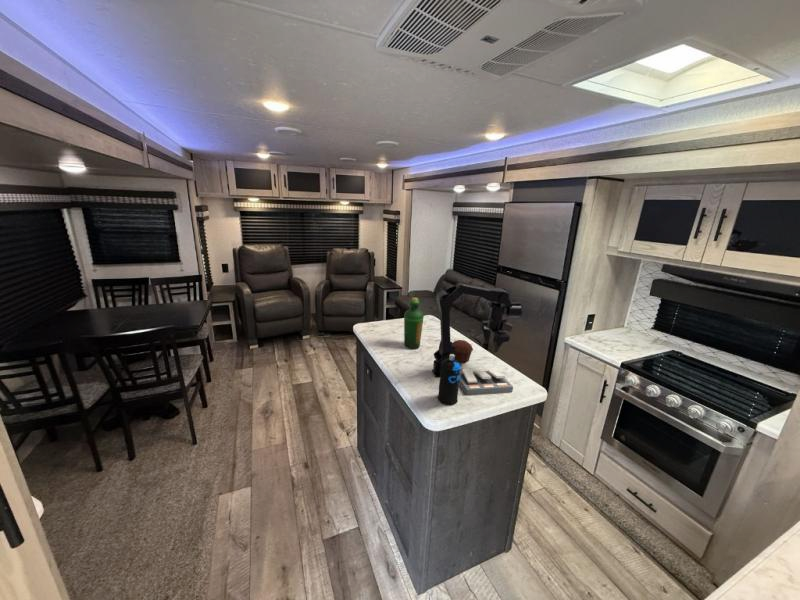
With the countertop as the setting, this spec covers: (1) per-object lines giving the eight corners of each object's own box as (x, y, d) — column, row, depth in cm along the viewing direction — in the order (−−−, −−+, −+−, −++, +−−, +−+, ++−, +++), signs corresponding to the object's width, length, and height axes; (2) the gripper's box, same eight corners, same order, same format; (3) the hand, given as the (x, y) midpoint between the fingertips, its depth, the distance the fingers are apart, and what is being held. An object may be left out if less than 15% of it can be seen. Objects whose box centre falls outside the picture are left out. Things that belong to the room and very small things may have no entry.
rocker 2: (482, 380, 134) (482, 376, 134) (474, 374, 142) (474, 370, 142) (491, 379, 135) (491, 376, 135) (482, 373, 142) (483, 370, 142)
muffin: (444, 358, 161) (446, 340, 158) (456, 352, 168) (458, 335, 165) (463, 367, 153) (466, 348, 150) (475, 360, 160) (478, 342, 158)
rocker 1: (467, 384, 133) (468, 381, 133) (461, 371, 140) (462, 368, 140) (476, 383, 134) (477, 381, 133) (469, 370, 141) (470, 368, 140)
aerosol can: (433, 398, 126) (437, 354, 120) (445, 391, 132) (450, 348, 126) (449, 408, 121) (454, 362, 115) (461, 399, 126) (467, 355, 121)
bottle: (424, 349, 170) (428, 300, 162) (406, 351, 166) (409, 301, 158) (416, 341, 179) (419, 295, 171) (399, 343, 175) (401, 296, 167)
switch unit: (466, 395, 130) (467, 389, 129) (454, 377, 143) (455, 372, 142) (512, 391, 134) (513, 386, 133) (497, 375, 147) (497, 370, 146)
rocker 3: (496, 379, 135) (496, 376, 135) (487, 373, 143) (488, 370, 143) (504, 378, 136) (505, 375, 136) (496, 373, 144) (496, 369, 144)
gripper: (524, 323, 133) (517, 356, 137) (502, 309, 150) (497, 339, 155) (500, 323, 131) (494, 357, 135) (481, 309, 148) (476, 339, 153)
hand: (491, 347), depth 144 cm, fingers open, 9 cm apart
